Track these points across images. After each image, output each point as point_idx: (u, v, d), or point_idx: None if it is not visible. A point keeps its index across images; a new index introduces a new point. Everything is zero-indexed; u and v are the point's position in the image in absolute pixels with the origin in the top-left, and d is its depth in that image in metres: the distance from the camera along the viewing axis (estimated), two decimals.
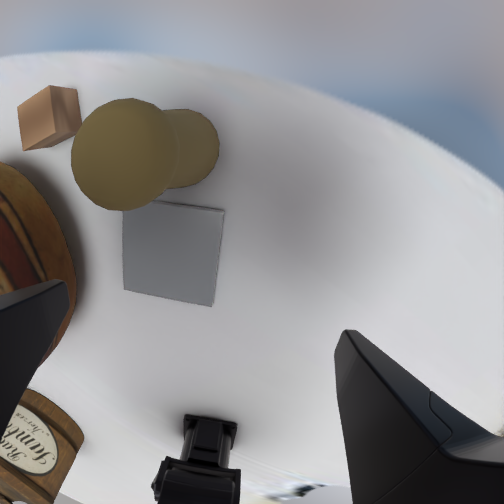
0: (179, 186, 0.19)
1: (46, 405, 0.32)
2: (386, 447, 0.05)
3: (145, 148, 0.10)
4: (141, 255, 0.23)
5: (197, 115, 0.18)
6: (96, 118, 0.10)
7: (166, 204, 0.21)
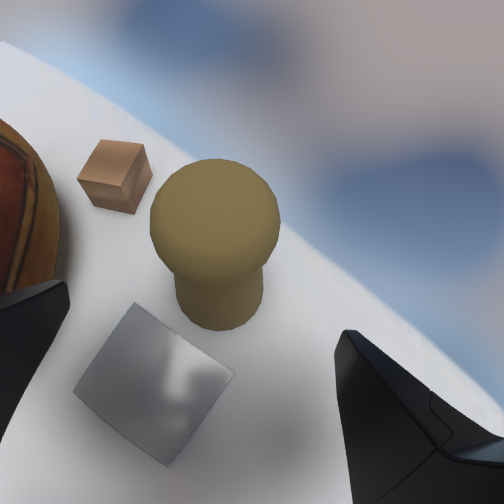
0: (209, 318, 0.17)
1: None
2: (385, 447, 0.05)
3: (260, 215, 0.10)
4: (117, 369, 0.16)
5: None
6: (221, 163, 0.11)
7: (176, 334, 0.18)
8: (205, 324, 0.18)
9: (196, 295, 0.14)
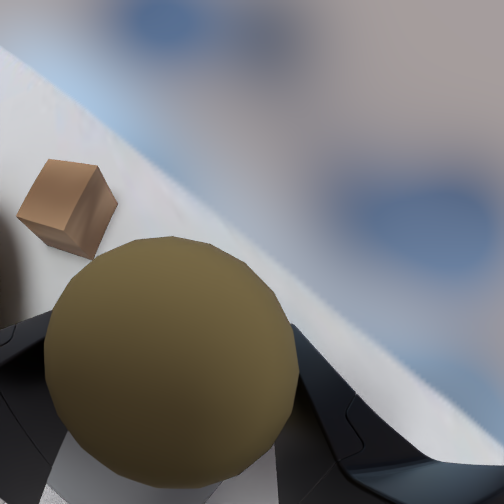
0: None
1: None
2: (300, 451, 0.05)
3: (256, 403, 0.04)
4: (81, 462, 0.10)
5: None
6: (168, 256, 0.05)
7: None
8: None
9: None
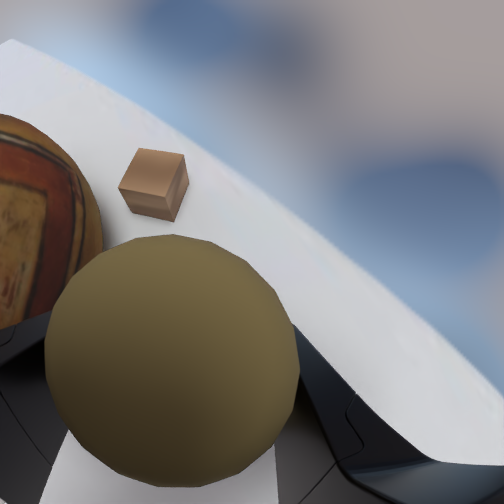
0: None
1: None
2: (300, 450, 0.05)
3: (258, 401, 0.04)
4: None
5: None
6: (169, 254, 0.05)
7: None
8: None
9: None
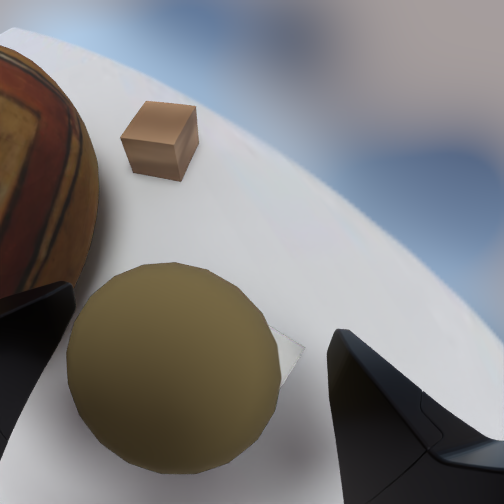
0: None
1: None
2: (376, 448, 0.05)
3: (242, 404, 0.05)
4: None
5: None
6: (172, 284, 0.06)
7: None
8: None
9: None
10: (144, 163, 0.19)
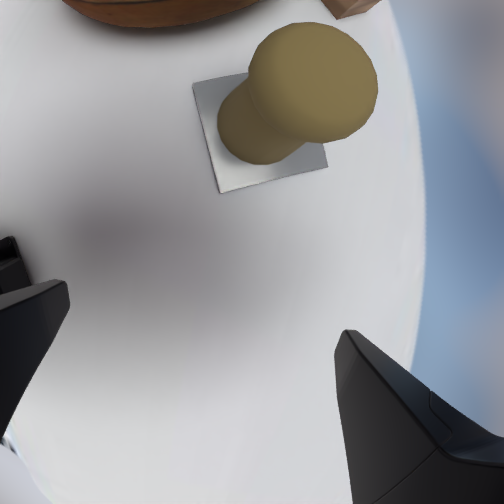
0: (235, 138, 0.16)
1: None
2: (385, 447, 0.05)
3: (353, 112, 0.09)
4: None
5: None
6: (360, 51, 0.09)
7: None
8: (226, 140, 0.18)
9: (244, 115, 0.13)
10: None
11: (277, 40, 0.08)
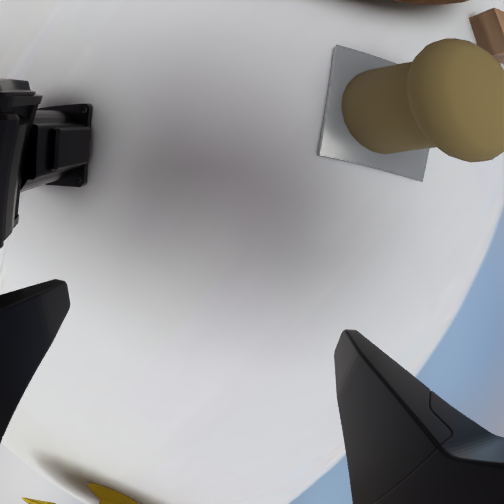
0: (359, 112, 0.15)
1: None
2: (386, 446, 0.05)
3: (491, 144, 0.07)
4: None
5: None
6: None
7: None
8: (348, 109, 0.16)
9: (385, 95, 0.11)
10: (482, 27, 0.12)
11: (455, 48, 0.06)
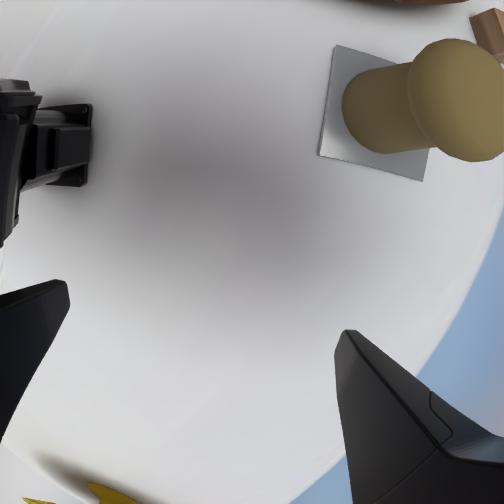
0: (359, 112, 0.15)
1: None
2: (386, 446, 0.05)
3: (491, 144, 0.07)
4: None
5: None
6: None
7: None
8: (348, 109, 0.16)
9: (385, 95, 0.11)
10: (482, 27, 0.12)
11: (455, 47, 0.06)
